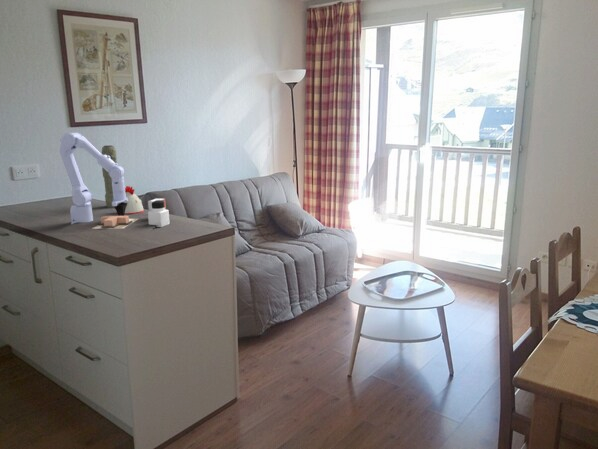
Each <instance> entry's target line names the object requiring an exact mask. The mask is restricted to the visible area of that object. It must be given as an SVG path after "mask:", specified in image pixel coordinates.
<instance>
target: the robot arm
mask: <svg viewBox="0 0 598 449" xmlns="http://www.w3.org/2000/svg"><path fill="white" fill-rule="evenodd" d="M77 148H78V149H83V150H85V151H86V152H87V153H88V154H90V155H91V156H92V157H93V158H94V159H96V162H97V164H98V165H99V166H100V167H101V168H102V167H103V168H104V169H105V170H106V171H107V172H109V176H110V177H111V178H112V189H113V198H114V200H113V202H112V206H113V207H114V209H115V211H116V215H117V216H126V214H125V209H126V206H127V203H124V202H125V201H128V198H127V197H126V195H125V188H126V186H125V177H124V175H125V173H126V170H125V168H124V167H123V166H122V165H121V164H120V165H119V163H118V162H117V163H115V162H114V161H113V160H112V159H110V158H111V157H110V156H107V155H102V152H100V151H99V150H98V148H96V147H95V146H94V145H93V144H92V143H91V142H90V141H89V140H88V139H87V137H85V136H83V135H82V134H81V133H80V132H77V131H76V132H65V133H64V134H63V135H62V137H61V138H60V147H59V154H60V157H61V160H62V163H63V164H64V168H65V170H66V173H67V176H68V179H69V181H70V184H71V186H72V190H71V194H72V197H71V199H72V200H71V201H72V203H73V204H74V205H71V206H70V210H69V213H70V221H71V223H70V225H74V224H76V223H89V222H93V221H94V216H93V207H92V202H91V201H92V200H93V194H92V192H91V191H90V190H89V188H88V186H86V184H85V183H84V181H83V178H82V175H81V173H80V170H79V167H78V163H77V162H76V158H75V155H74V153H75V151H76V149H77Z"/></svg>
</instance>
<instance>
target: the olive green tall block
mask: <svg viewBox="0 0 598 449" xmlns="http://www.w3.org/2000/svg"><path fill="white" fill-rule="evenodd" d="M101 154H102V155H107V156H110V157H111V158H110V159H112V160H113V161H114V162H115V163H117V164H118V161H117V150H116V148H115V146H113V145H103V146H102V149H101ZM101 170H102V171H101V172H102V177H103V180H104V189H105V193H104V194H105V195H104V199H105V200H104V201H105V205H106V208H108V209H113V208H114V207H113V206H112V202H113V200H114V198H113V189H112V178H111V177H110V176H109V172H107V171H106V170H105V169H104V168H103V167H101ZM114 209H115V208H114Z"/></svg>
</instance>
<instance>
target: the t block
mask: <svg viewBox="0 0 598 449" xmlns="http://www.w3.org/2000/svg"><path fill="white" fill-rule="evenodd" d="M129 216H130V215H124V216H118V215H103V216H101V217H100V222H101V223H104V226H115V225H116V224H118V223H128V222H129V219H130V217H129Z"/></svg>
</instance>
